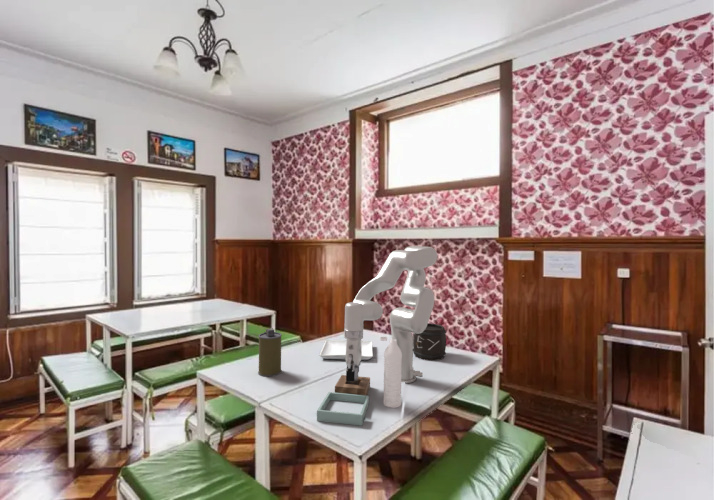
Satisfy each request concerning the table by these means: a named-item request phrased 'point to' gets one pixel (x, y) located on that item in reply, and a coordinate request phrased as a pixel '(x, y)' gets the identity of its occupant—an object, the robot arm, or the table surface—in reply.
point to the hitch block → (353, 386)
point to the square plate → (344, 349)
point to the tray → (342, 416)
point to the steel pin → (355, 375)
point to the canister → (269, 353)
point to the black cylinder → (430, 343)
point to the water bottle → (392, 374)
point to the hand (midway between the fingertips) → (352, 376)
